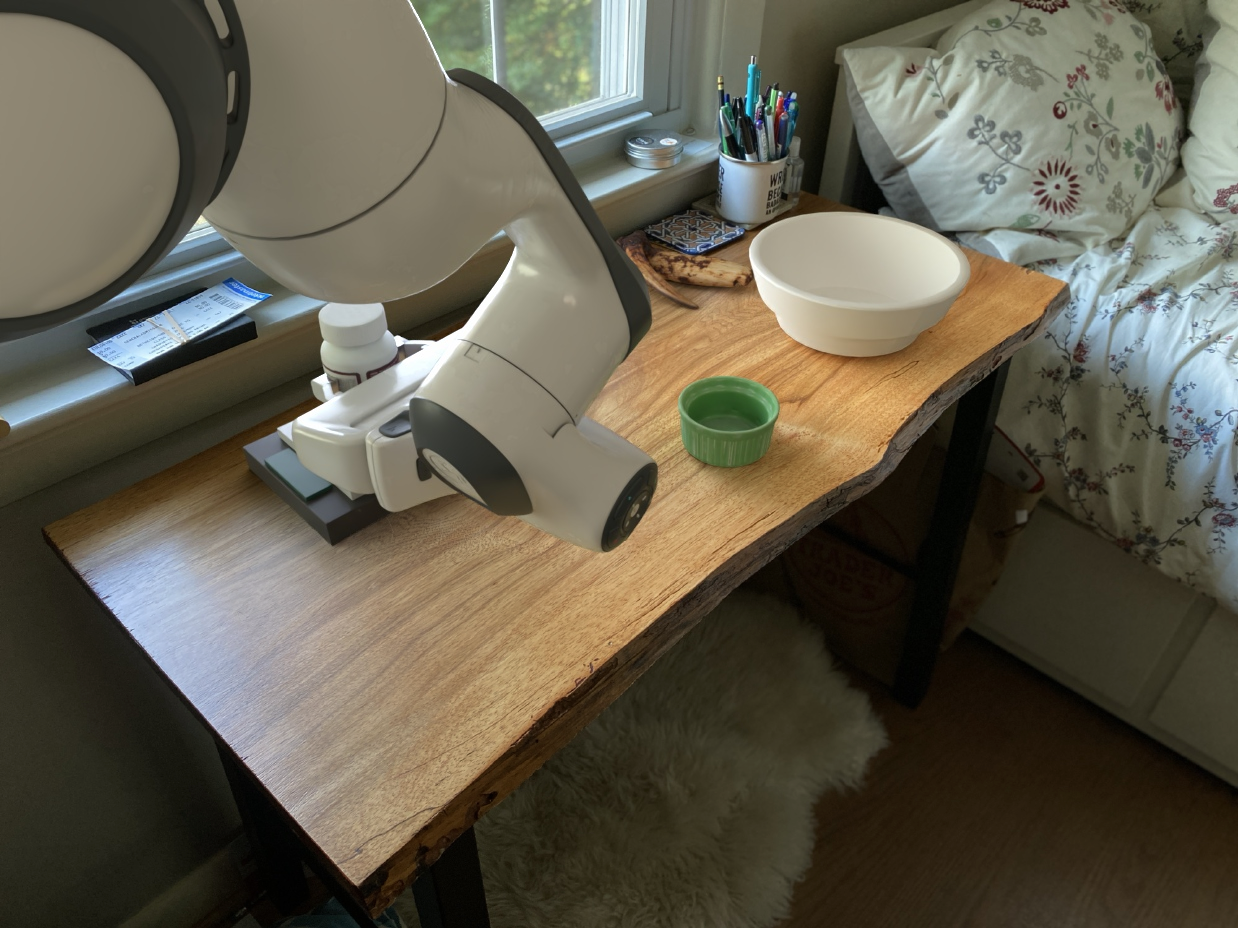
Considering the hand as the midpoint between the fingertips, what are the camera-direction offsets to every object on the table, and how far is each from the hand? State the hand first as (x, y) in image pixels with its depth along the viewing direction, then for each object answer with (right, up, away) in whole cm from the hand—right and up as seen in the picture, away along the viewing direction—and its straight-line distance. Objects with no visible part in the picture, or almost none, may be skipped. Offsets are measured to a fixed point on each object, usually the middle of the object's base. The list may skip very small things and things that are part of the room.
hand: (355, 365), depth 78 cm
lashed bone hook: (+28, +12, +31) cm, 44 cm away
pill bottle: (+1, -5, +3) cm, 6 cm away
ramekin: (+32, -6, +8) cm, 33 cm away
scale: (0, -8, +5) cm, 10 cm away
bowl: (+47, +7, +24) cm, 53 cm away
